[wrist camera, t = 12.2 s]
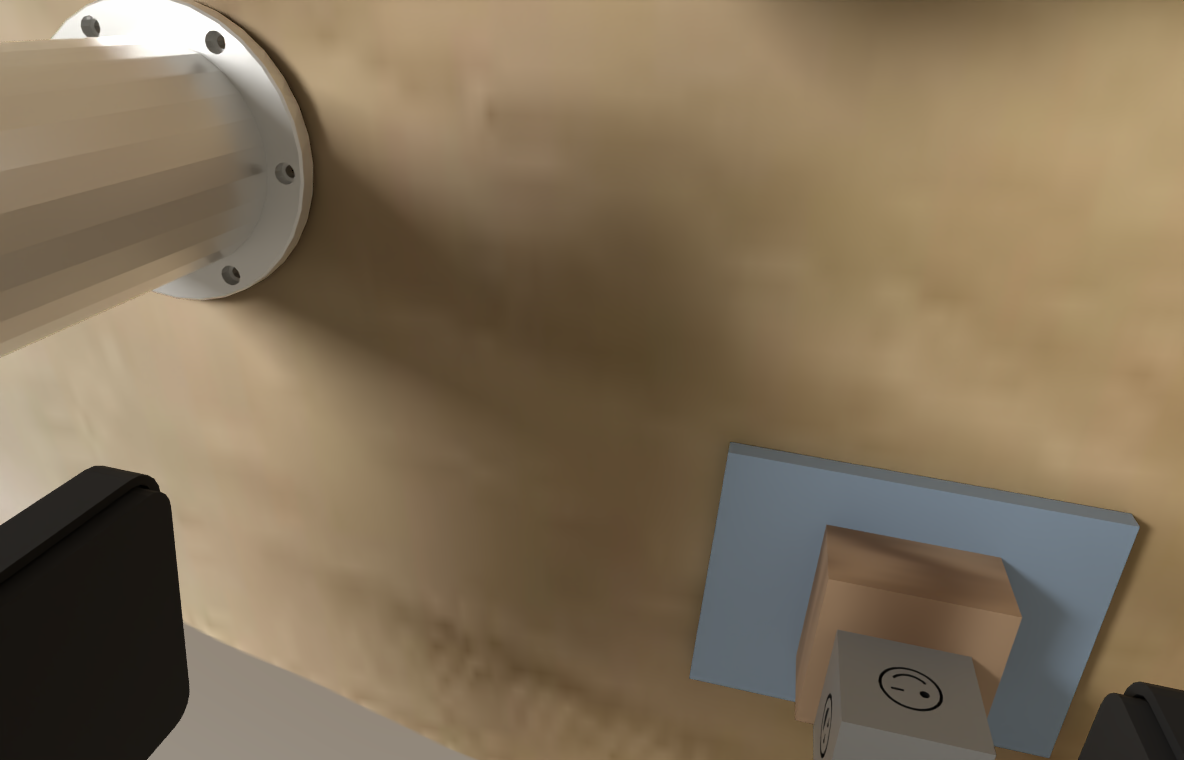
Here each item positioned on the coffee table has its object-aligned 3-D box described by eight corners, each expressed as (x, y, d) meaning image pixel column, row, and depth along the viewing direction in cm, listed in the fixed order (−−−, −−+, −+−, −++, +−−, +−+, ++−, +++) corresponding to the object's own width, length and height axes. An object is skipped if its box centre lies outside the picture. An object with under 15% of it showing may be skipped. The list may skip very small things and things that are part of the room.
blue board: (691, 664, 44) (689, 678, 43) (730, 441, 39) (728, 452, 38) (1043, 741, 41) (1049, 758, 40) (1131, 513, 36) (1139, 527, 35)
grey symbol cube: (971, 657, 35) (996, 755, 30) (939, 755, 37) (958, 862, 32) (837, 629, 35) (841, 721, 31) (813, 727, 37) (813, 827, 33)
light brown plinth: (796, 656, 41) (795, 720, 37) (826, 524, 38) (828, 579, 35) (957, 691, 40) (972, 759, 36) (1001, 557, 37) (1022, 617, 34)
